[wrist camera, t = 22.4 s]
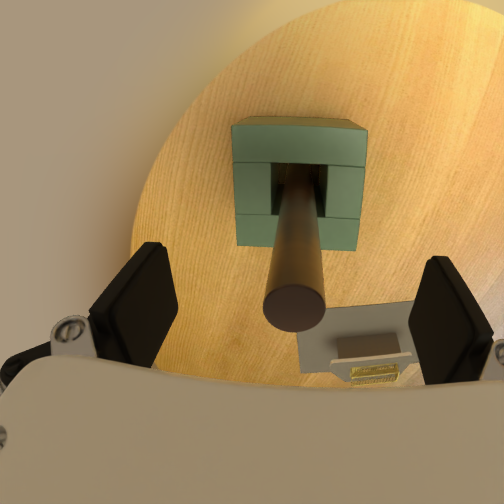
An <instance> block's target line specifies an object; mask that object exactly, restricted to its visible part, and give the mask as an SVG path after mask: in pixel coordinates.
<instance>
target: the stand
mask: <svg viewBox="0 0 504 504" xmlns="http://www.w3.org/2000/svg"><path fill="white" fill-rule="evenodd" d="M231 133H232V156H233V179H234V200H235V219H236V237H237V246H256V247H274V241H275V236H276V230H277V224H278V219H279V213H280V207H281V201H282V195H283V190H284V184H283V183H279V163H302V164H320V170H319V185H313V187H314V194H315V202H316V210H317V219H318V227H319V237H320V246H321V250H340V251H356V247H357V240H358V233H359V225H360V216H361V208H362V199H363V189H364V179H365V166H366V154H367V139H368V130H366V129H364V128H363V127H361V126H359V125H357V124H355V123H354V122H352V121H350V120H344V119H331V118H313V117H281V116H253V117H248V118H246V119H244V120H242V121H240V122H238V123H236V124H234V125H232V126H231Z"/></svg>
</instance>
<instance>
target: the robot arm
mask: <svg viewBox="0 0 504 504" xmlns="http://www.w3.org/2000/svg"><path fill="white" fill-rule="evenodd" d="M177 312H178V302H177V297H176V293H175V288H174V283H173V278H172V273H171V268H170V263H169V258H168V253H167V249H166V247H165V246H163V245H162V244H161V243H160V242H145V243H144V244H143V245H142V246H141V247H140V248H139V249H138V251H137V252H136V253H135V254H134V255H133V256H132V258H131V259H130V260H129V261H128V262H127V263H126V265H125V266H124V267H123V268H122V269H121V271H120V272H119V273H118V274H117V275H116V277H115V278H114V279H113V280H112V281H111V283H110V284H109V285H108V287H107V288H106V289H105V290H104V291H103V293H102V294H101V295H100V297H99V298H98V299H97V300H96V302H95V303H94V304H93V305H92V307H91V308H90V309H89V313H90V315H89V316H88V318H85V317H84V316H80V315H73V316H68V317H66V318H64V319H62V320H60V321H59V322H58V323H57V324H56V325H55V326H54V327H53V329H52V331H51V335H50V339H51V340H50V341H49V342H46V343H44V344H41V345H39V346H36V347H34V348H31V349H29V350H26V351H24V352H21V353H19V354H16V355H14V356H12V357H10V358H9V359H7V360H6V362H5V363H4V364H3V366H2V368H1V370H0V504H504V339H499V340H496V341H495V342H494V341H493V339H492V336H493V334H494V332H493V330H492V328H491V326H490V324H489V322H488V321H487V319H486V317H485V315H484V313H483V312H482V310H481V308H480V306H479V305H478V303H477V301H476V300H475V298H474V296H473V295H472V293H471V291H470V290H469V288H468V286H467V285H466V283H465V282H464V280H463V279H462V277H461V275H460V274H459V272H458V271H457V269H456V268H455V266H454V265H453V263H452V262H451V260H450V259H449V258H448V257H447V256H432V258H431V259H429V260H427V262H426V265H425V269H424V272H423V275H422V279H421V282H420V285H419V288H418V292H417V295H416V298H415V301H414V304H413V307H412V309H411V312H410V315H409V319H408V326H409V330H410V333H411V336H412V339H413V342H414V346H415V349H416V352H417V356H418V359H419V363H420V367H421V370H422V374H423V378H424V381H425V385H421V386H405V387H382V388H323V387H299V386H282V385H269V384H257V383H247V382H237V381H229V380H220V379H213V378H205V377H198V376H192V375H185V374H179V373H173V372H168V371H162V370H156V369H151V366H152V364H153V362H154V360H155V358H156V356H157V354H158V352H159V350H160V348H161V345H162V343H163V341H164V339H165V337H166V335H167V333H168V331H169V329H170V327H171V325H172V323H173V321H174V319H175V317H176V315H177Z"/></svg>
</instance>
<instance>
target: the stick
mask: <svg viewBox="0 0 504 504" xmlns="http://www.w3.org/2000/svg"><path fill="white" fill-rule="evenodd" d="M325 311H326V304H325V291H324V278H323V267H322V256H321V246H320V237H319V227H318V219H317V210H316V202H315V194H314V187H313V179H312V172H311V166H310V164H302V163H288V166H287V172H286V178H285V184H284V190H283V195H282V201H281V207H280V213H279V219H278V224H277V230H276V236H275V241H274V247H273V252H272V258H271V263H270V269H269V274H268V280H267V285H266V290H265V296H264V301H263V313H264V315H265V317H266V319H267V320H268V322H269V323H270V324H271V325H273V326H274V327H276V328H277V329H280V330H282V331H286V332H303V331H307V330H309V329H312V328H313V327H315V326H316V325H318V324H319V323H320V321H321V320H322V319H323V317H324V315H325Z"/></svg>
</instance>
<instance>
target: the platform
mask: <svg viewBox="0 0 504 504" xmlns="http://www.w3.org/2000/svg"><path fill="white" fill-rule="evenodd" d="M413 304H414V301H406V302H397V303H387V304H377V305H366V306H354V307H342V308H328V309H326V311H325V315H324V317H323V319H322V320H321V321H320V323H319V324H318V325H316V326H315V327H313V328H312V329H309V330H307V331H303V332H297V341H298V351H299V361H300V372H301V373H318V372H332V373H333V374H335V375H336V376H337V377H339V378H340V379H342V380H343V381H345V382H351V386H361V385H360V382H361V381H362V380H363V381H362V385H371V384H380V382H381V379H382V378H383V381H382V382H381V383H388V382H396V381H397V380H398V376H399V375H400V374H401V373H402V372H403V371H404V370H405V369H406V367H407V366H408V365H409V364H411V363H417V362H419V359H418V356H417V352H416V349H415V346H414V342H413V339H412V336H411V333H410V330H409V326H408V319H409V315H410V312H411V309H412V307H413ZM389 366H390V367H389ZM391 366H392V368H391ZM380 367H381V370H379V369H380ZM383 367H384V369H383V370H382V368H383ZM386 367H387V368H386ZM393 367H394V368H393ZM370 368H371V369H370ZM374 368H375V369H374ZM377 368H378V370H377ZM385 368H386V370H385ZM361 369H362V370H361ZM364 369H365V372H363V371H364ZM367 369H368V371H367V372H366V370H367ZM358 370H359V372H358ZM369 370H370V371H369ZM372 370H373V371H372ZM376 370H377V371H376ZM354 371H355V373H354ZM361 371H362V372H361ZM389 377H390V378H389ZM391 377H393V378H394V377H395V380H394V381H393V378H392V380H391V381H390V379H391ZM385 378H386V381H385V382H384V379H385ZM388 378H389V380H388V382H387V379H388ZM373 379H374V382H373V383H372V380H373ZM376 379H377V382H376V383H375V380H376ZM378 379H380V381H379V383H378ZM364 380H365V384H363V382H364ZM367 380H368V384H366V381H367ZM369 380H371V383H370V384H369ZM352 381H354V385H352ZM355 381H357V383H358V381H360V382H359V385H357V383H356V385H355Z"/></svg>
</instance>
